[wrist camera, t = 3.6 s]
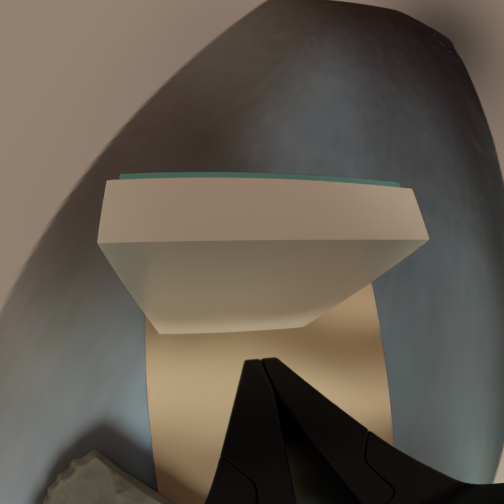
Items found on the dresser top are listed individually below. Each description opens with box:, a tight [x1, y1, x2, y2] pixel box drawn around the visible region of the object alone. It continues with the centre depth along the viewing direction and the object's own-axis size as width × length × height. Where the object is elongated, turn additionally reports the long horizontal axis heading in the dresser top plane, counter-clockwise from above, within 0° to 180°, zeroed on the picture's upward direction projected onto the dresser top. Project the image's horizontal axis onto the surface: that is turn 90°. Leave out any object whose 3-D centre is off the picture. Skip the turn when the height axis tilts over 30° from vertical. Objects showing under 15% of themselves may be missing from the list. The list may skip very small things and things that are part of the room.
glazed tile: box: [97, 172, 429, 334], centre depth 11 cm, size 2×7×10 cm, turn 95°
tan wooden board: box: [145, 282, 393, 504], centre depth 15 cm, size 18×12×1 cm
